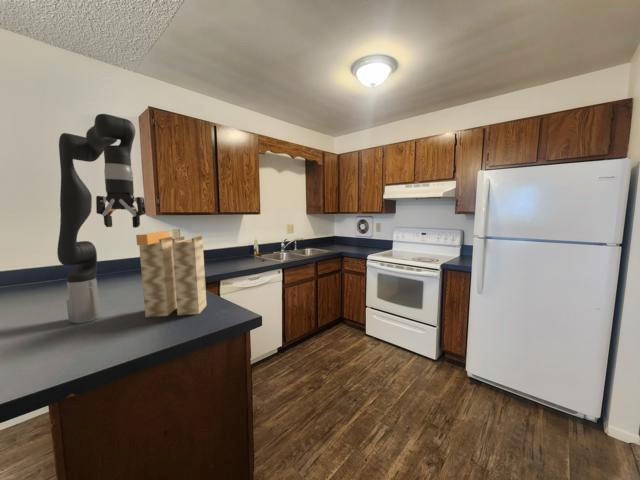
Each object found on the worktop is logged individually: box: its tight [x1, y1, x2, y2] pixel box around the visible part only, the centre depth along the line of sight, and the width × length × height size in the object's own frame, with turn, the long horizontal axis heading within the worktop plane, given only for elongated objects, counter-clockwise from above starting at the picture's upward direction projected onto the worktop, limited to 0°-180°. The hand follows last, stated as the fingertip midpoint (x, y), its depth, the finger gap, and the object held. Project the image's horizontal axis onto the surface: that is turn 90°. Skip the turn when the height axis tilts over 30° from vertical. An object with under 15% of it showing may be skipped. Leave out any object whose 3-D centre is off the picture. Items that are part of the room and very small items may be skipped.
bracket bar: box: [135, 230, 171, 246], centre depth 114 cm, size 4×20×4 cm, turn 7°
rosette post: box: [138, 236, 177, 318], centre depth 118 cm, size 9×11×34 cm
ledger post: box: [172, 235, 207, 316], centre depth 119 cm, size 9×11×34 cm
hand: (122, 227), depth 90 cm, fingers open, 8 cm apart
